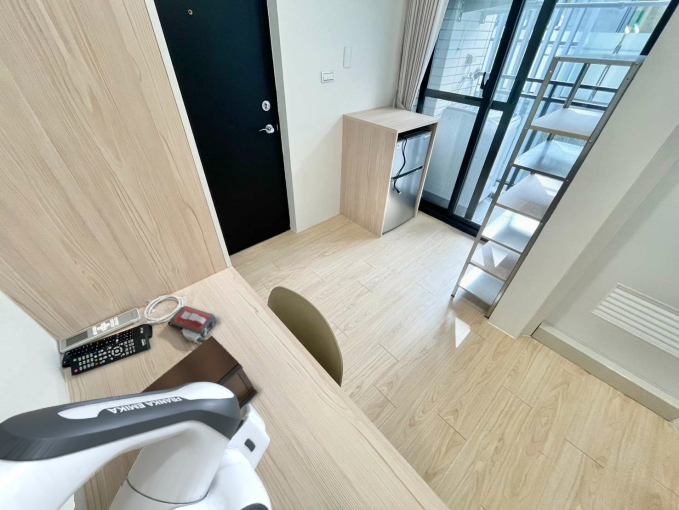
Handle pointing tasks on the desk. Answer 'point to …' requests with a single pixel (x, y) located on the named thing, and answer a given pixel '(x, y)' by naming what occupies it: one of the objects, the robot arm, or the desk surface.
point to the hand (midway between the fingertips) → (205, 444)
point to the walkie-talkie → (193, 323)
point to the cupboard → (208, 371)
